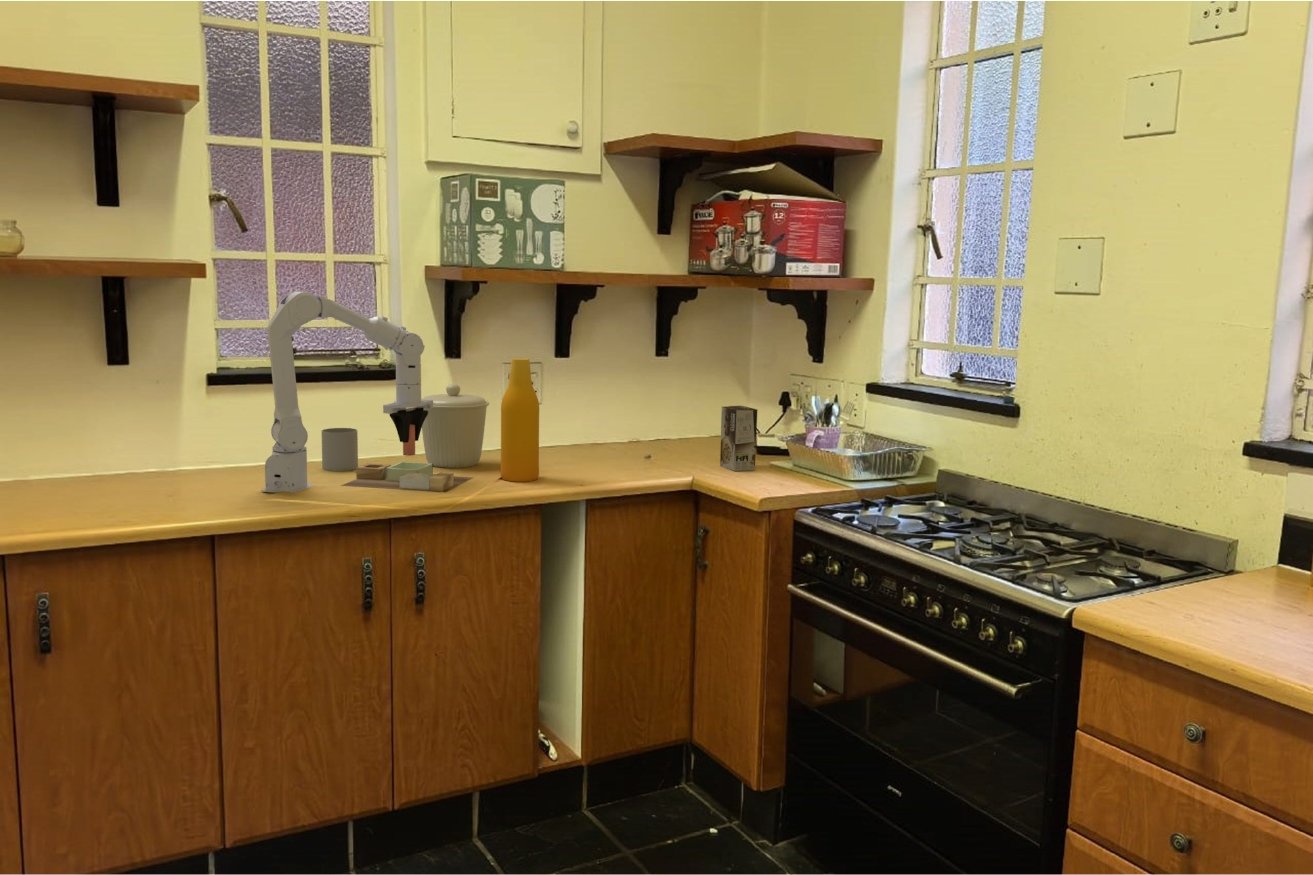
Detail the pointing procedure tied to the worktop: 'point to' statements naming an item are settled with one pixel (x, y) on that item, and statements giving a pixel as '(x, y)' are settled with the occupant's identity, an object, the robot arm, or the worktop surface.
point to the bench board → (377, 479)
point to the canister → (454, 429)
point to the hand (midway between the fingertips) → (409, 441)
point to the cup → (339, 449)
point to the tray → (407, 470)
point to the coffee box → (738, 438)
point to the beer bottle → (520, 426)
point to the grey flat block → (416, 481)
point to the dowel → (410, 442)
